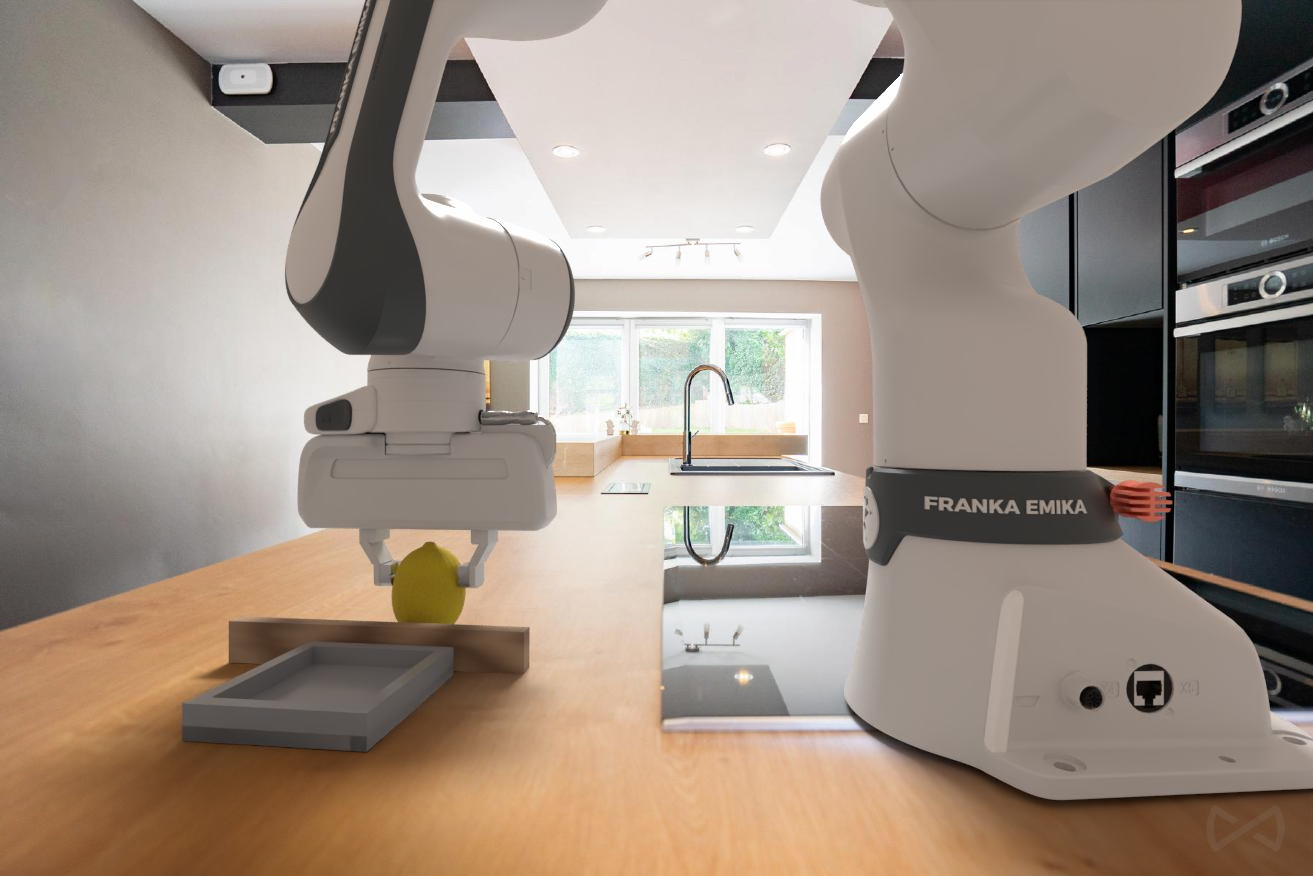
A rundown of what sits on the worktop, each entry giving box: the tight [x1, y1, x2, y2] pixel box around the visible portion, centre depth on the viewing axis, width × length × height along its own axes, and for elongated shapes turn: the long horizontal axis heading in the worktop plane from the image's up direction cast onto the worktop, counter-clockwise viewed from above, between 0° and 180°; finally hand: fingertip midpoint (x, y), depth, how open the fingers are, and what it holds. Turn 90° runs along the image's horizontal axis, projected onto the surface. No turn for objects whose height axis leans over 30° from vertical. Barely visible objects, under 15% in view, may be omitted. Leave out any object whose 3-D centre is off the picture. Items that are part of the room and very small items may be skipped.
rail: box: [228, 615, 531, 674], centre depth 45 cm, size 22×1×3 cm, turn 84°
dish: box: [181, 641, 454, 753], centre depth 39 cm, size 10×10×2 cm
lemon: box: [391, 541, 467, 624], centre depth 50 cm, size 6×6×8 cm
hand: (429, 585), depth 50 cm, fingers closed on lemon, 5 cm apart
